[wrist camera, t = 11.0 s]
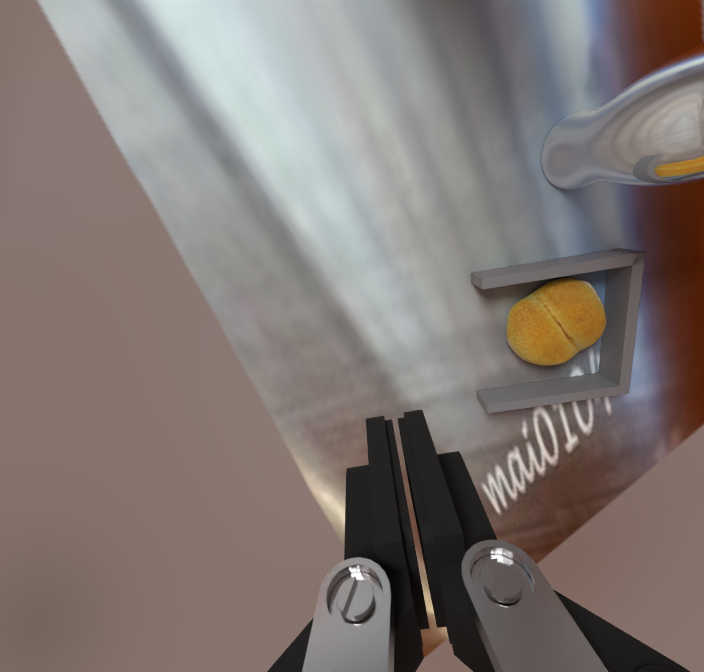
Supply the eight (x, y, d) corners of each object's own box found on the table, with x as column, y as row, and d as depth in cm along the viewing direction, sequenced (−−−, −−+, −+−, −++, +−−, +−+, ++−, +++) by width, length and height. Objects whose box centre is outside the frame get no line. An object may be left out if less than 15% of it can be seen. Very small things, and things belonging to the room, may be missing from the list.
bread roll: (488, 317, 35) (504, 330, 31) (568, 262, 33) (595, 268, 29) (527, 375, 37) (547, 393, 33) (604, 326, 35) (635, 339, 31)
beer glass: (633, 148, 29) (893, 88, 15) (566, 212, 31) (744, 210, 17) (586, 84, 28) (827, -50, 14) (518, 154, 30) (670, 100, 15)
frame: (470, 273, 33) (481, 278, 30) (620, 248, 32) (645, 251, 29) (477, 398, 38) (487, 413, 35) (607, 379, 37) (628, 393, 34)
